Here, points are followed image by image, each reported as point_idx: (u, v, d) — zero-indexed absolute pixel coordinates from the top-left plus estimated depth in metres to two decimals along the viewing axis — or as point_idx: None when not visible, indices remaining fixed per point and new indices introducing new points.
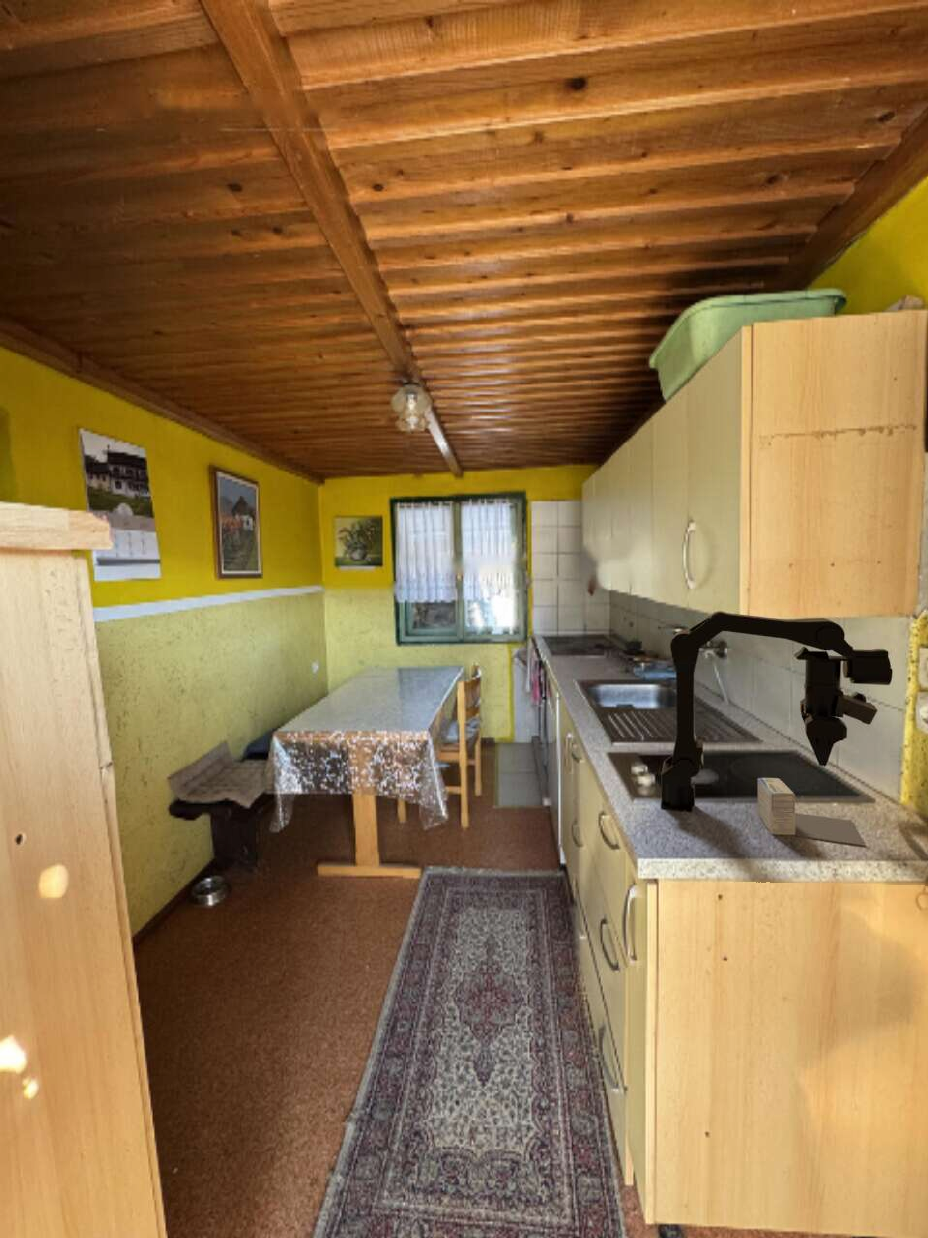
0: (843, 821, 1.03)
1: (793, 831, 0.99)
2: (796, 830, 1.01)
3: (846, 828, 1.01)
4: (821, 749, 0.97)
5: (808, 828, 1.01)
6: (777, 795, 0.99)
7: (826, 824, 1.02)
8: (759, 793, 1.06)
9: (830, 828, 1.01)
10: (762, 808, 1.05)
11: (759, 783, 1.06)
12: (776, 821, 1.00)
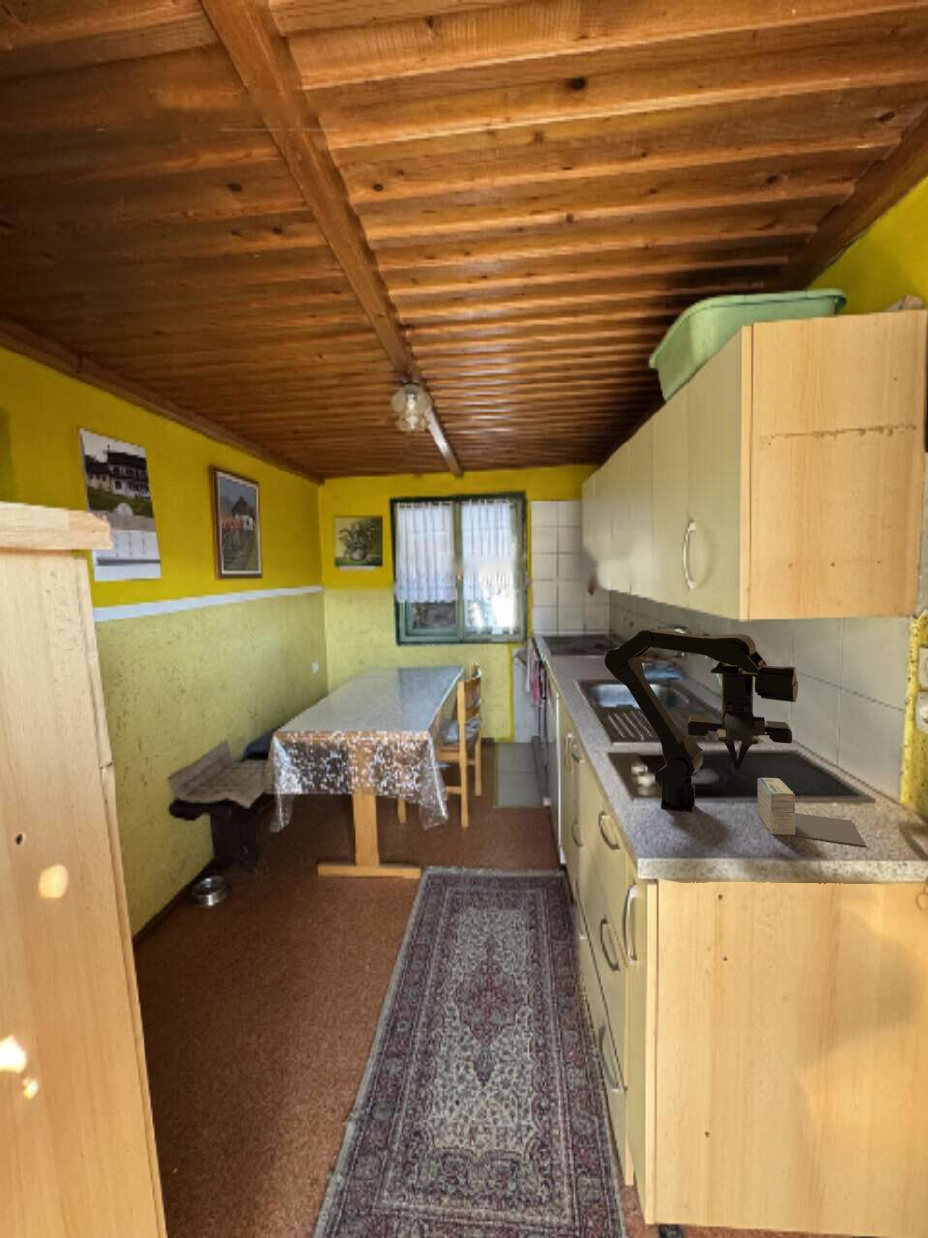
0: (843, 821, 1.03)
1: (793, 831, 0.99)
2: (796, 830, 1.01)
3: (846, 828, 1.01)
4: None
5: (808, 828, 1.01)
6: (777, 795, 0.99)
7: (826, 824, 1.02)
8: (759, 793, 1.06)
9: (830, 828, 1.01)
10: (762, 808, 1.05)
11: (759, 783, 1.06)
12: (776, 821, 1.00)
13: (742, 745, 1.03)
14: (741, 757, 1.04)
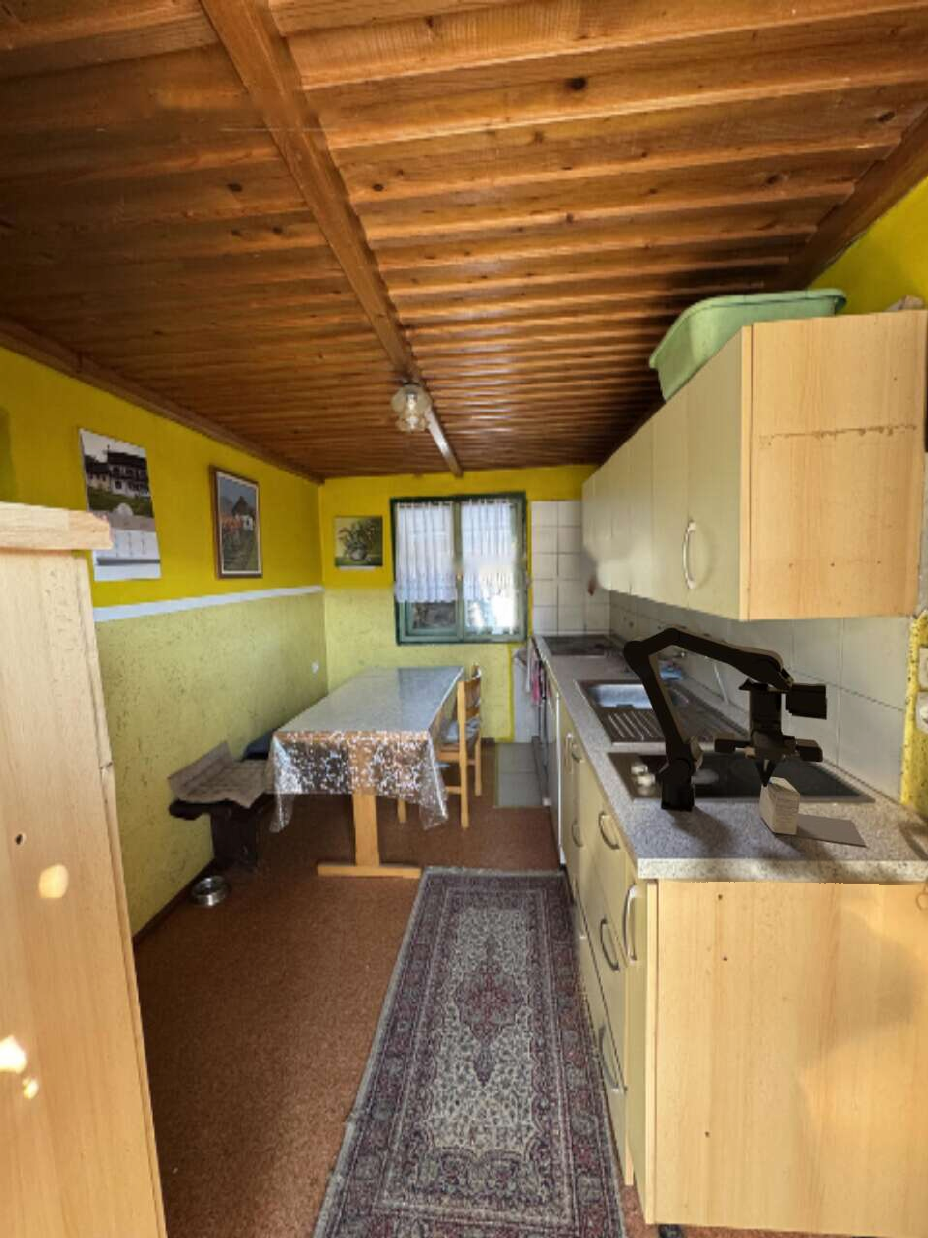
0: (843, 821, 1.03)
1: (793, 831, 0.99)
2: (796, 830, 1.01)
3: (846, 828, 1.01)
4: None
5: (808, 828, 1.01)
6: (783, 794, 0.99)
7: (826, 824, 1.02)
8: (763, 791, 1.06)
9: (830, 828, 1.01)
10: (764, 806, 1.05)
11: None
12: (778, 819, 1.00)
13: (769, 763, 1.01)
14: (768, 775, 1.02)
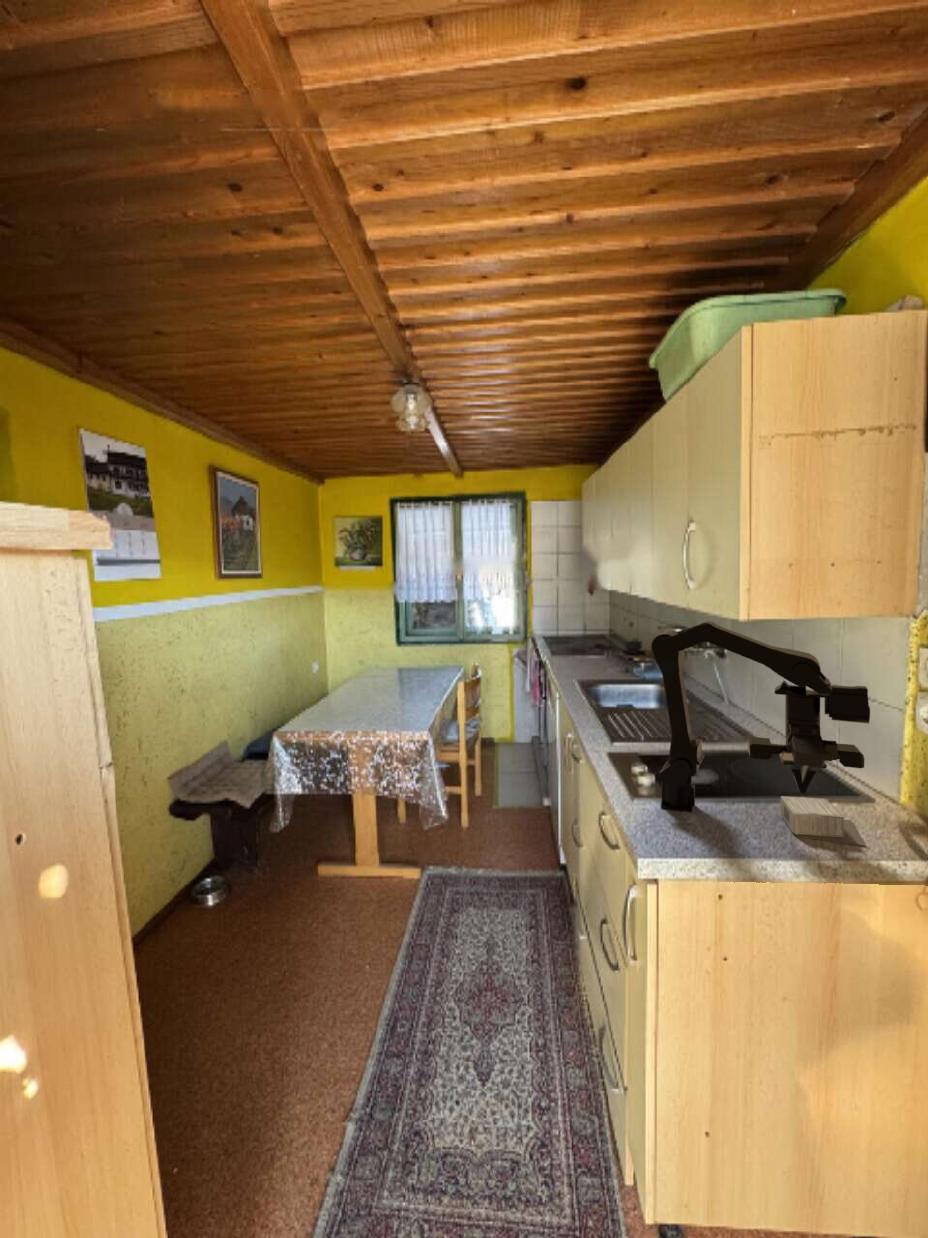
0: None
1: (799, 832, 0.99)
2: None
3: (846, 828, 1.01)
4: (793, 774, 1.02)
5: None
6: (842, 822, 0.97)
7: None
8: (813, 800, 1.04)
9: None
10: (802, 803, 1.03)
11: (825, 801, 1.03)
12: (810, 819, 0.98)
13: (809, 769, 0.98)
14: (807, 781, 0.99)
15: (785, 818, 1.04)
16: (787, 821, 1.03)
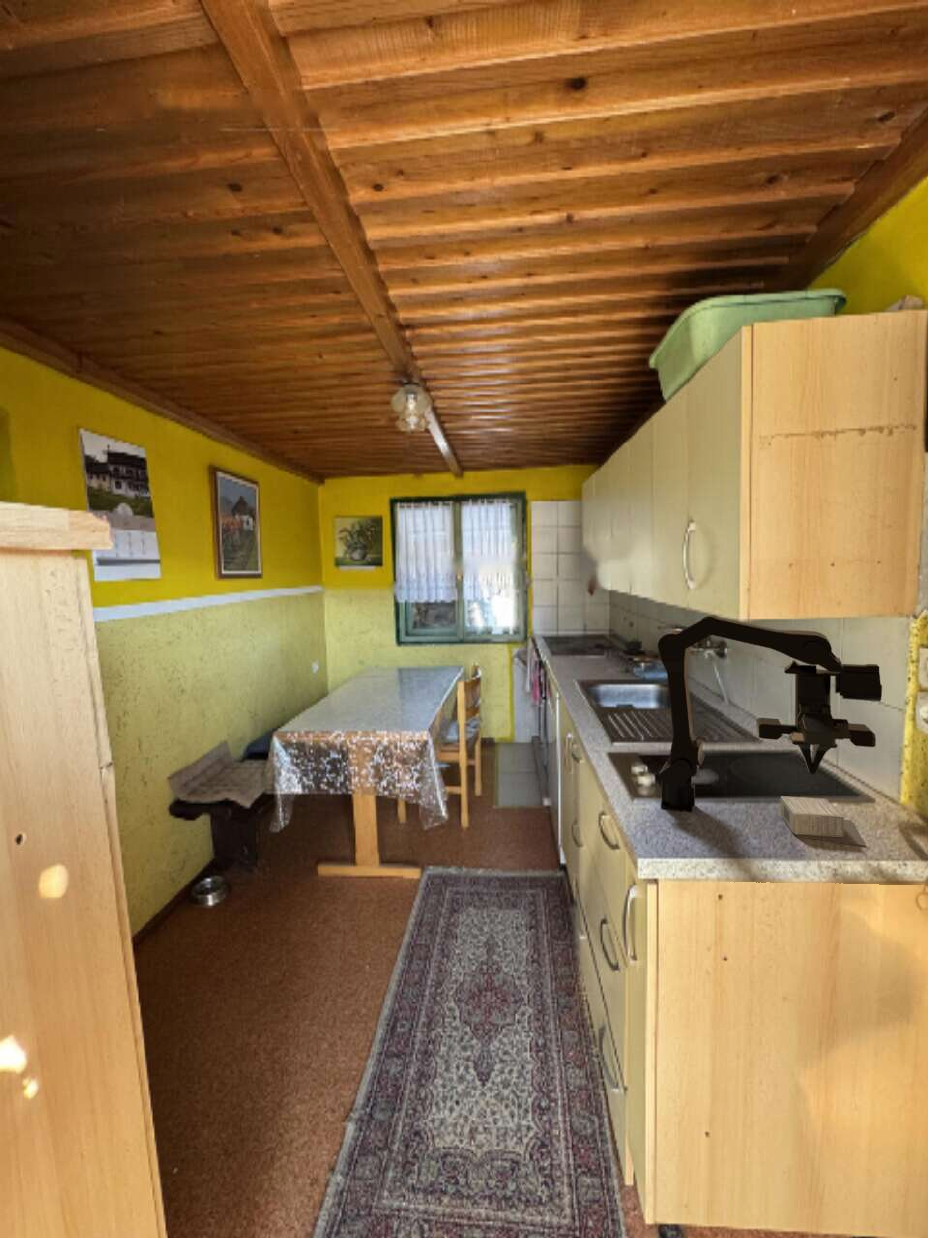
0: None
1: (799, 832, 0.99)
2: None
3: (846, 828, 1.01)
4: (803, 754, 1.00)
5: None
6: (842, 822, 0.97)
7: None
8: (813, 800, 1.04)
9: None
10: (802, 803, 1.03)
11: (825, 801, 1.03)
12: (810, 819, 0.98)
13: (819, 749, 0.97)
14: (817, 761, 0.98)
15: (785, 818, 1.04)
16: (787, 821, 1.03)
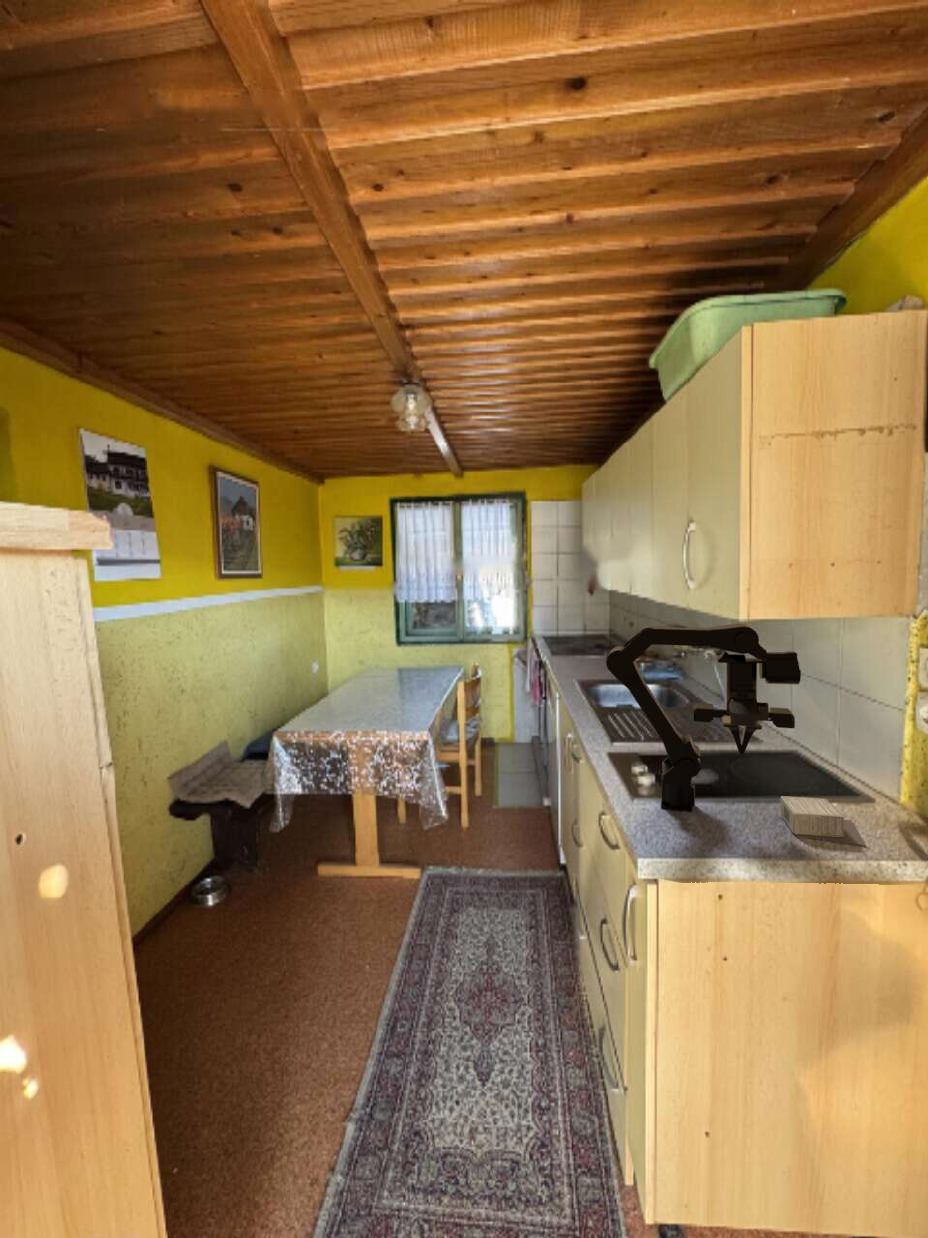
0: None
1: (799, 832, 0.99)
2: None
3: (846, 828, 1.01)
4: None
5: None
6: (842, 822, 0.97)
7: None
8: (813, 800, 1.04)
9: None
10: (802, 803, 1.03)
11: (825, 801, 1.03)
12: (810, 819, 0.98)
13: (746, 731, 1.06)
14: (745, 742, 1.07)
15: (785, 818, 1.04)
16: (787, 821, 1.03)
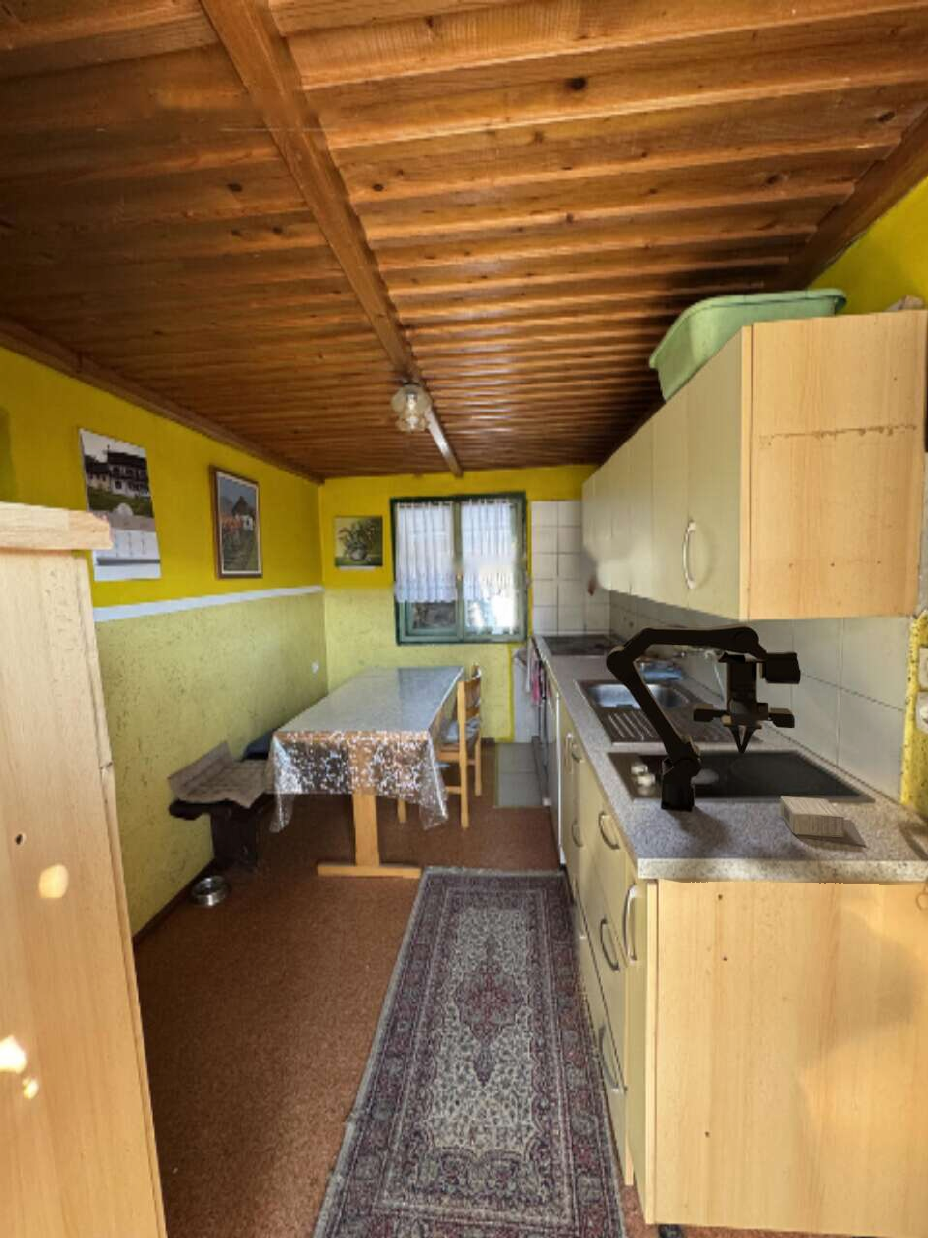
0: None
1: (799, 832, 0.99)
2: None
3: (846, 828, 1.01)
4: None
5: None
6: (842, 822, 0.97)
7: None
8: (813, 800, 1.04)
9: None
10: (802, 803, 1.03)
11: (825, 801, 1.03)
12: (810, 819, 0.98)
13: (746, 731, 1.06)
14: (745, 742, 1.07)
15: (785, 818, 1.04)
16: (787, 821, 1.03)
